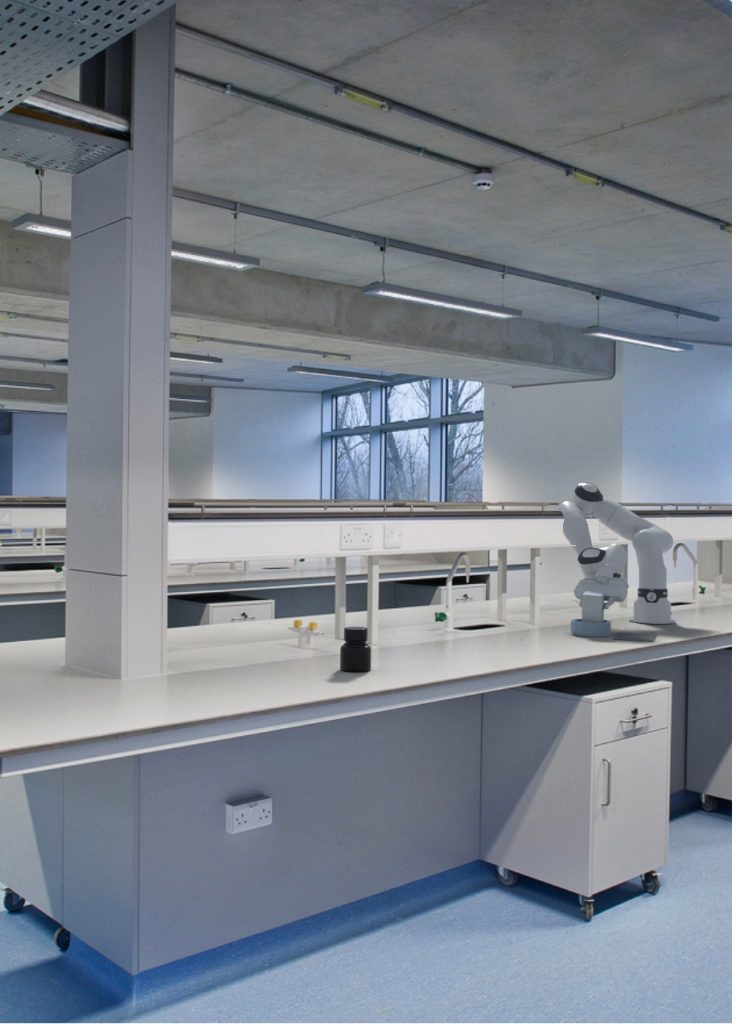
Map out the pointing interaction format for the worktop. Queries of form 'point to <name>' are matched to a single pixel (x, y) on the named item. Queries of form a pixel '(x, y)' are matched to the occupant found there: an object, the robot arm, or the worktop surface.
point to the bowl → (590, 628)
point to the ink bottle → (355, 650)
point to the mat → (635, 636)
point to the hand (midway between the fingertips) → (593, 607)
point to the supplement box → (593, 607)
